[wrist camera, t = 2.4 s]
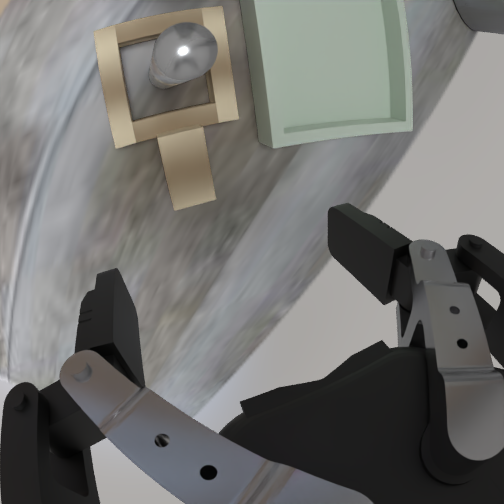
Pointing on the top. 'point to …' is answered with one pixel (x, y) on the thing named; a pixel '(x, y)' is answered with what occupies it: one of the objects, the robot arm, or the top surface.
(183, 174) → the wooden frame with handle
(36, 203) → the top surface
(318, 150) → the top surface
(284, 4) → the tray
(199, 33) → the steel post
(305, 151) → the top surface
